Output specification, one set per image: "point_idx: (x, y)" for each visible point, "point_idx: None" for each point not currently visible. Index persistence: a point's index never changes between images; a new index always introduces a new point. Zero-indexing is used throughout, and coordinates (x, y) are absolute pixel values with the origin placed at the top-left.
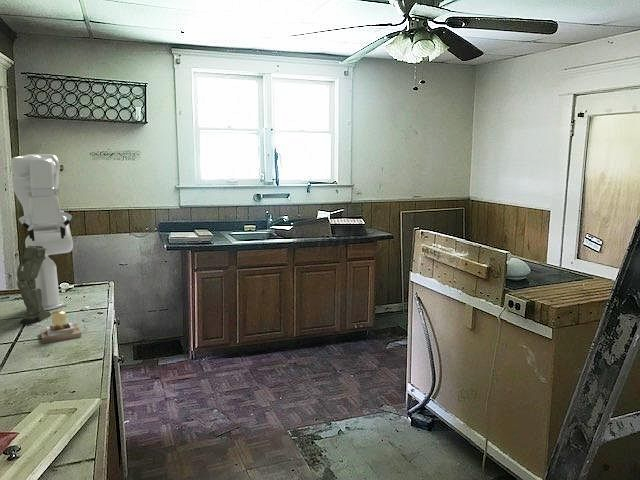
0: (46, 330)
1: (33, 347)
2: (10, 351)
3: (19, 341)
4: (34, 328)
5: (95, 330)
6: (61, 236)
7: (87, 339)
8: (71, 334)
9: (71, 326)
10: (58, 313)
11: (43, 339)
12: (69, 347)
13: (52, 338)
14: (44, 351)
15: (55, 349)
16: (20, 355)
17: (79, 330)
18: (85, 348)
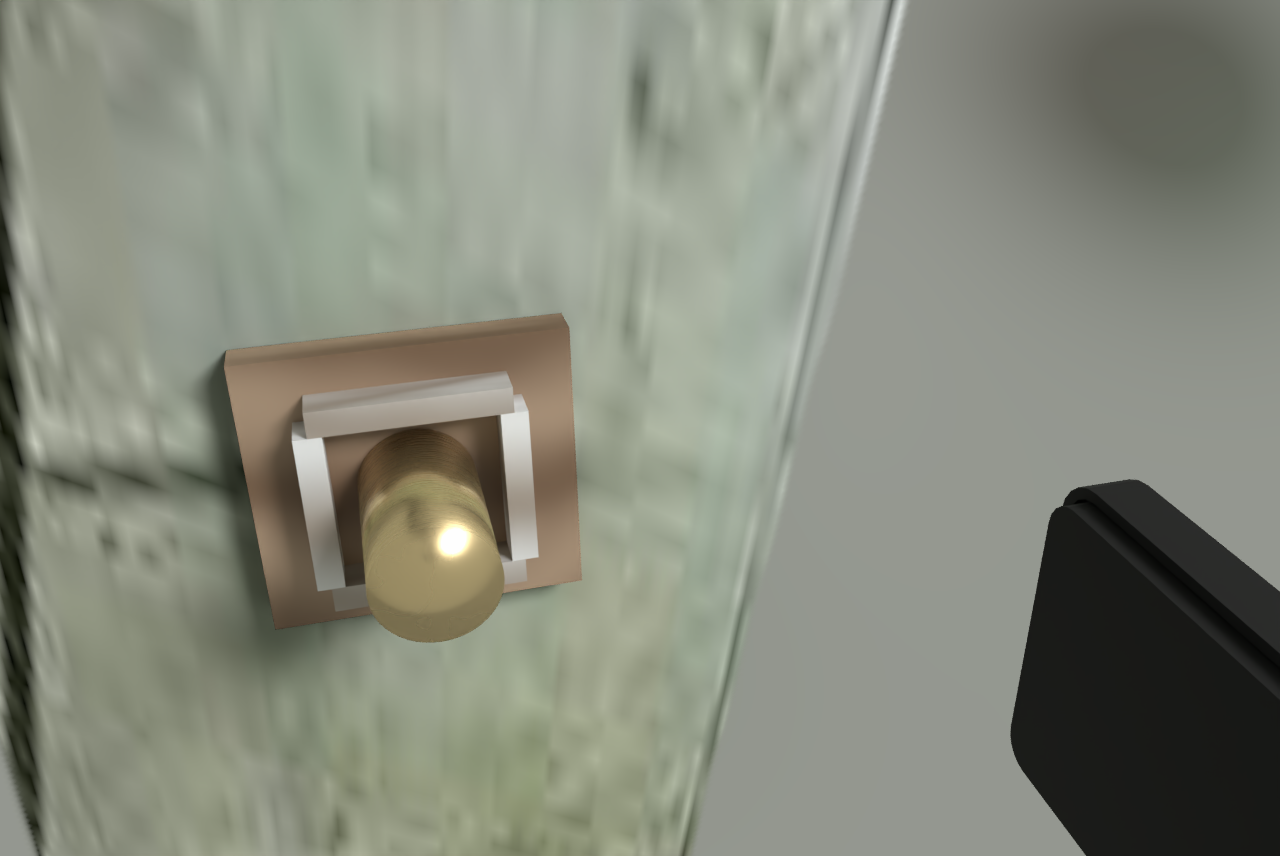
0: (288, 405)
1: (206, 663)
2: (24, 688)
3: (48, 479)
4: (132, 121)
5: (695, 454)
6: (1050, 758)
7: (610, 634)
8: (506, 591)
9: (521, 520)
10: (436, 618)
11: (282, 628)
12: (476, 744)
13: (354, 612)
14: (302, 764)
15: (379, 751)
16: (129, 787)
17: (575, 525)
18: (577, 791)
